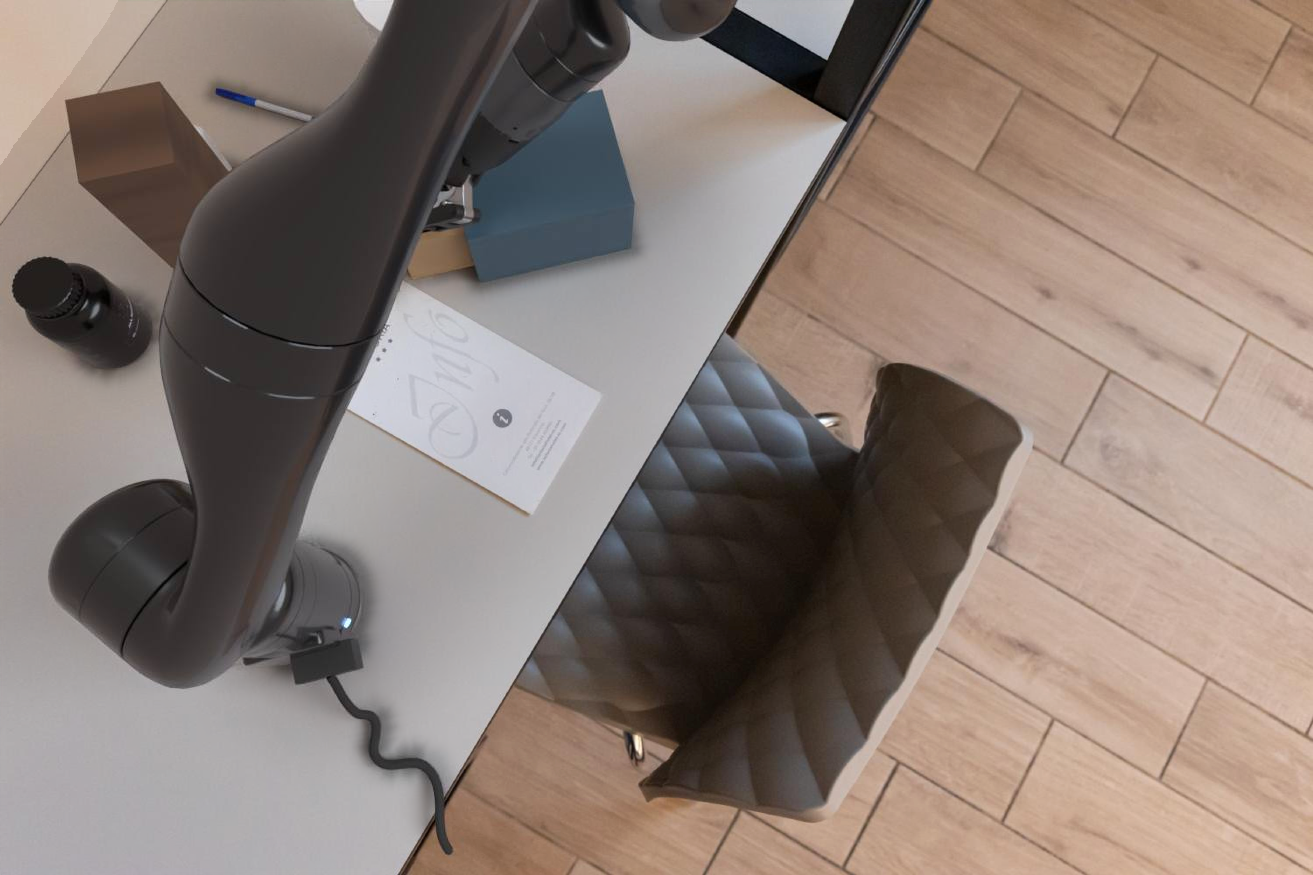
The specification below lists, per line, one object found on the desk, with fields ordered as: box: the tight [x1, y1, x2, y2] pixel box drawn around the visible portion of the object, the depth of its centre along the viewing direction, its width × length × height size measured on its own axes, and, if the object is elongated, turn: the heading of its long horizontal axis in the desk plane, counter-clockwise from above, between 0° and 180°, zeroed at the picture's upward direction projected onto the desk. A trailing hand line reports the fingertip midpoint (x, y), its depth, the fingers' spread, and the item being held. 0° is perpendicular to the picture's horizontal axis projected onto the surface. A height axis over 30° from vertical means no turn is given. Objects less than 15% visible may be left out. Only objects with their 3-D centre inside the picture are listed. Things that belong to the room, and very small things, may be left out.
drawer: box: [399, 192, 475, 292], centre depth 87 cm, size 19×10×8 cm, turn 105°
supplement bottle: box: [11, 255, 153, 370], centre depth 83 cm, size 7×7×12 cm
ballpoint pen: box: [214, 87, 315, 123], centre depth 94 cm, size 10×1×1 cm, turn 75°
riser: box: [64, 80, 229, 270], centre depth 77 cm, size 6×6×28 cm
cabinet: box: [463, 89, 636, 283], centre depth 89 cm, size 15×11×10 cm
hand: (381, 201), depth 83 cm, fingers closed on chocolate carton, 4 cm apart
